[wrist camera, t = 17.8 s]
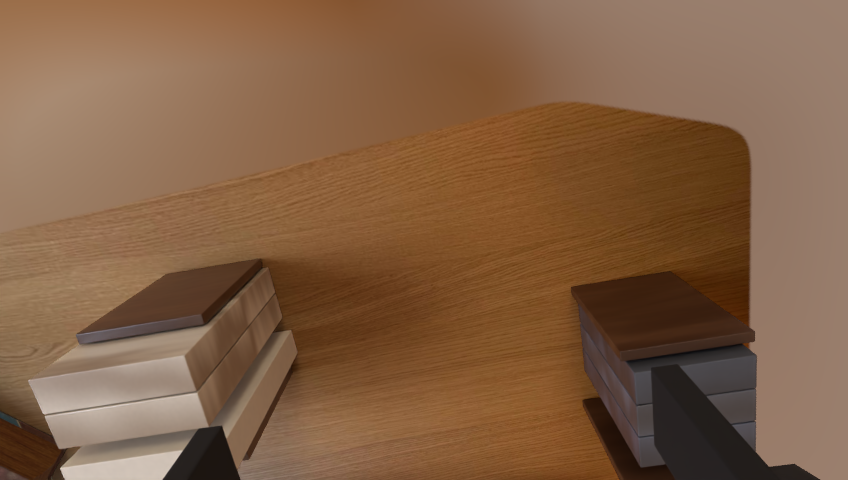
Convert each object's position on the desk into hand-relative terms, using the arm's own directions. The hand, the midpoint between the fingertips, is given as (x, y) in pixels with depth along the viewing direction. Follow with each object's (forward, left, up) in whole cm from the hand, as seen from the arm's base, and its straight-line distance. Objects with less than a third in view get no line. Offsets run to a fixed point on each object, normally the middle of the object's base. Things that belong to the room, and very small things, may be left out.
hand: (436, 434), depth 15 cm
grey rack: (+2, +22, -29) cm, 37 cm away
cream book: (+21, -10, -29) cm, 37 cm away
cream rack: (+19, -11, -29) cm, 37 cm away
